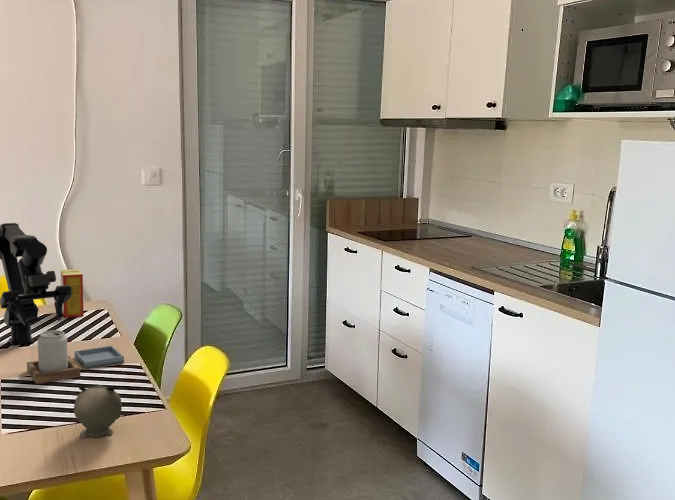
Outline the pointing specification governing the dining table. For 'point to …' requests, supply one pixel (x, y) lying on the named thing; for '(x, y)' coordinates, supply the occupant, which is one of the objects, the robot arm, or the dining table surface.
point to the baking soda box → (75, 301)
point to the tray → (99, 357)
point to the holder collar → (53, 372)
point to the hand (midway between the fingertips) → (42, 322)
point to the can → (52, 351)
